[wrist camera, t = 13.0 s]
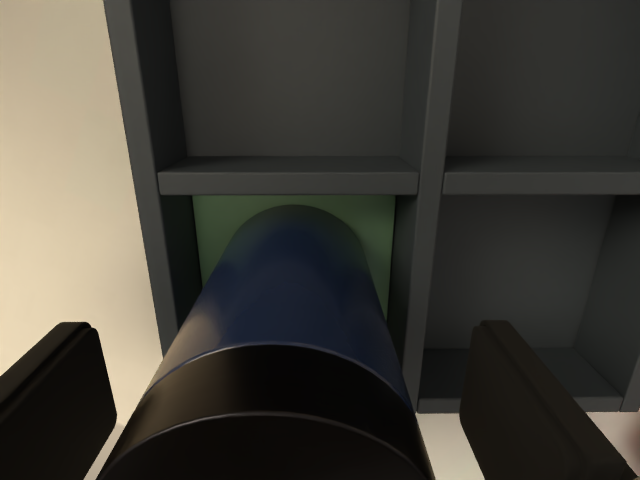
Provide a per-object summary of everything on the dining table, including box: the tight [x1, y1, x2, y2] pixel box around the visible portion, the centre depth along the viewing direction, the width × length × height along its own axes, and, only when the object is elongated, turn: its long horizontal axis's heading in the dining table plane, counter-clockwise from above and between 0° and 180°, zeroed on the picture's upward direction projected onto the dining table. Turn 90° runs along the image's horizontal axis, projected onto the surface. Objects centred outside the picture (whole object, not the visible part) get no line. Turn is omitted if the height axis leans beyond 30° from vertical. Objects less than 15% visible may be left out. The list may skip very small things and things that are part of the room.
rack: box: [103, 0, 640, 414], centre depth 13 cm, size 17×17×4 cm
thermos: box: [96, 204, 436, 480], centre depth 11 cm, size 6×6×10 cm
